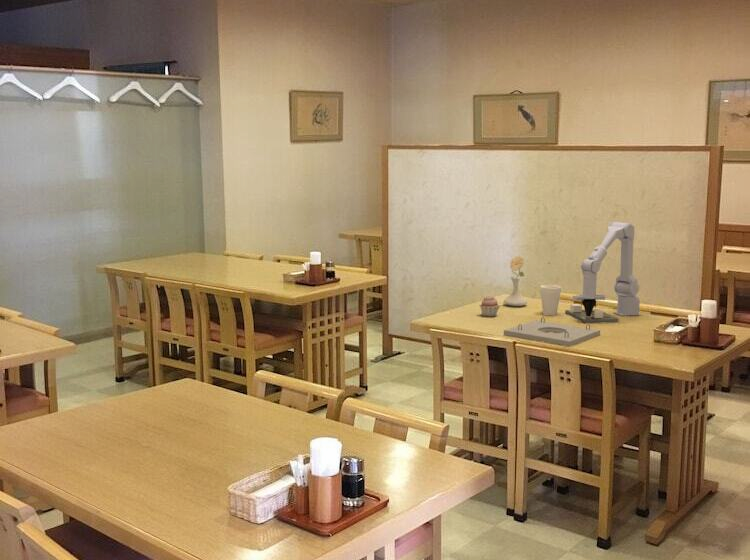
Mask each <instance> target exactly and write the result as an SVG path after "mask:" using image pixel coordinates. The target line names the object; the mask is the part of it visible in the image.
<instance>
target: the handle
mask: <svg viewBox="0 0 750 560" xmlns="http://www.w3.org/2000/svg"><path fill="white" fill-rule="evenodd" d="M582 305H583V304H580V303H570V305H569V306H570V307H569V310H570V311H572V312H582V310H583V306H582Z"/></svg>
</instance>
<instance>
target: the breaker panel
mask: <svg viewBox="0 0 750 560" xmlns="http://www.w3.org/2000/svg"><path fill="white" fill-rule="evenodd" d="M593 310H599V309H598V308H597V309H595V308H593ZM564 311H565V314H566V315H568V316H570V317H571V316H572V318H574V319H575V320H577V321H579V322H581V323H583V322H584V323H583V324H597V323H596V322H606V323H619V318H618V317H616V316H613V315H611V314H608V313H607V312H605V311H603V318H593V317H591V316H586V312H585V309H582V312H572V311H570V309H566V310H564Z"/></svg>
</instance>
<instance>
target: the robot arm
mask: <svg viewBox="0 0 750 560" xmlns="http://www.w3.org/2000/svg"><path fill="white" fill-rule="evenodd" d="M617 239H618V240H619V241H620V246H621V247H620V271H619V272H620V274H619V275H618V276H617V277H616V278H615V284H614V291H615V293H616V295H617V308H616V310H615V311H613V314H616V315H618V316H620V317H623V316H624V317H625V316H640V315H641V314H640V304H641V303H640V297H639V296H638V292H639V290H640V289H639V283H638V282H639V281H638V278H636V276H634V275H633V272H634V271H633V267H634V239H635V226H634V225H633V224H632V223H631V222H620V221H611V222H610V223H609V225H608V226H607V233H606V234H605V236H604V238H603V241H601V243H600V245H598V246H595V248H594V249H593V251H592V252H591V253H590V255H589V256H588V258H586V259H584V260H583V261H582V262H581V265H580V270H581V272H582V273H581V274H582V276H583V277H582V294H579V295H577V294H576V295H572V301H574V302H575V301H581V303H582V305H583V308H584V310H585V312H586V316H591V313H592V310H593V309H595V305H596V304H597V301H599V300H600V301H601V300H602V301H605V300H606V295H605V294H597V281H598V280H597V277H598V276H597V275H598V272H599V271H600V269H601V265H602V262H603V260H604V259H605V258H606V256H607V254H608V251H607V250H608V249H609V248H610V246H611V245H612V244H613V243H614V242H615V241H616V240H617Z"/></svg>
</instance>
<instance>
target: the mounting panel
mask: <svg viewBox="0 0 750 560" xmlns="http://www.w3.org/2000/svg"><path fill="white" fill-rule="evenodd" d="M540 319H541V320H538V319H537V320H536V319H535V320H532V321H530V322H526V323H525V322H524V323H522V324H521V323H520V324H518V325H516V326H512V327H511V328H510V327H509V328H506V329H504V330H503V336H507V337H512V338H517V339H523V340H529V341H534V340H536V341H535V342H539V341H544V342H543V343H545V342H550V343H549V344H551V343H555V344H554V345H556V344H560V345H559V346H562V345H566V346H565V347H568V346H571V347H573V346H576V345H578V344H581V343H583V342H582V341H584V342H586V341H588V339H589V340H591V339H593V337H594V338H596V337H595V336H597V335H599V336H601V329H595V328H591V324H590V323H586V327H582V326H576V325H572V324H571V325H570V324H564V323H558V322H557V323H556V322H551V321H545V317H544V316H543V317H540ZM549 332H553V333H549ZM597 337H598V336H597ZM590 338H591V339H590ZM585 340H586V341H585ZM580 342H581V343H580ZM577 343H578V344H577ZM575 344H576V345H575ZM572 345H573V346H572Z"/></svg>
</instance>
